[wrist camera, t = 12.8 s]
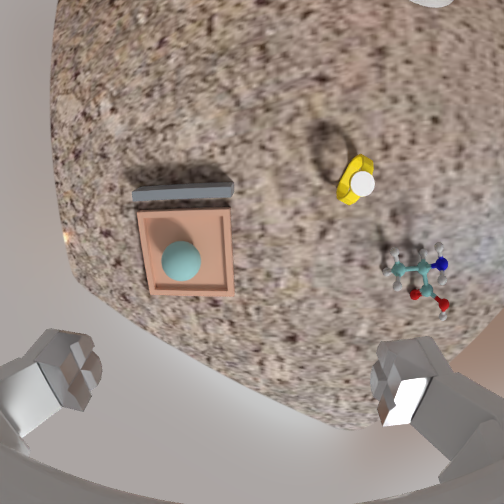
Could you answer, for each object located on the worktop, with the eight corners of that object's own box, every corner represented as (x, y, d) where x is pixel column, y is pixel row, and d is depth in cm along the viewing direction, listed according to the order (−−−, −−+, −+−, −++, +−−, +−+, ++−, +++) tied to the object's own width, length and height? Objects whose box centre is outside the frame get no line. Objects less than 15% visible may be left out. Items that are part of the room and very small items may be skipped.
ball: (167, 235, 40) (152, 249, 35) (203, 235, 39) (192, 250, 35) (172, 269, 42) (158, 287, 37) (207, 271, 41) (196, 289, 37)
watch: (348, 149, 35) (365, 151, 29) (367, 161, 35) (386, 164, 30) (327, 192, 37) (339, 201, 31) (346, 202, 37) (361, 213, 32)
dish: (140, 210, 39) (136, 212, 38) (230, 206, 38) (229, 209, 37) (152, 290, 44) (150, 294, 42) (234, 292, 43) (234, 296, 42)
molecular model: (363, 308, 39) (421, 317, 30) (374, 238, 40) (432, 233, 31) (413, 316, 43) (465, 323, 34) (421, 256, 44) (473, 255, 35)
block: (141, 186, 38) (131, 191, 35) (233, 182, 37) (230, 186, 34) (142, 195, 38) (133, 201, 35) (233, 191, 38) (231, 197, 35)
